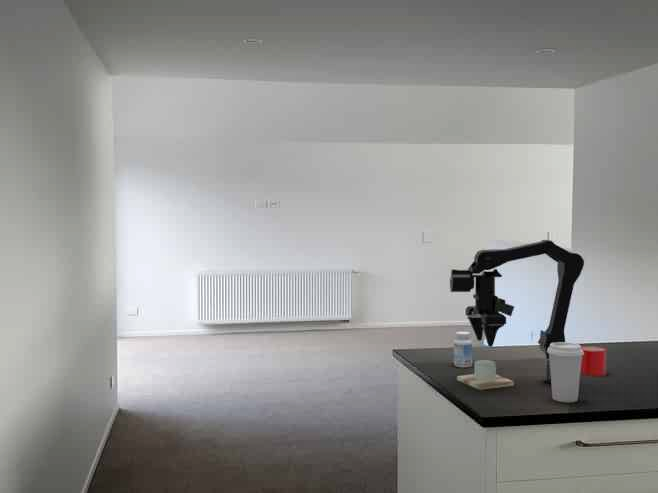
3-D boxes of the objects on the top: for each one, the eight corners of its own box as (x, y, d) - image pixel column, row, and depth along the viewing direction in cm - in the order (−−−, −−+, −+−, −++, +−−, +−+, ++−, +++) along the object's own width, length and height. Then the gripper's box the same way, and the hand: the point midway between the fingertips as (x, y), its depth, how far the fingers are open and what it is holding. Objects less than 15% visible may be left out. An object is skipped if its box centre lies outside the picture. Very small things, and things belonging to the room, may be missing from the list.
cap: (475, 381, 193) (475, 364, 193) (474, 376, 199) (474, 359, 199) (496, 381, 193) (496, 364, 192) (494, 376, 199) (494, 360, 198)
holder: (513, 385, 193) (513, 374, 192) (479, 389, 188) (479, 378, 188) (489, 376, 204) (489, 365, 204) (457, 380, 199) (457, 369, 199)
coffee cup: (574, 393, 183) (575, 341, 182) (589, 403, 174) (590, 348, 173) (541, 394, 183) (541, 341, 182) (554, 404, 173) (554, 348, 173)
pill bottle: (471, 363, 220) (471, 331, 220) (473, 368, 214) (473, 334, 214) (453, 363, 221) (452, 330, 220) (454, 367, 215) (454, 334, 214)
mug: (571, 366, 215) (571, 343, 214) (609, 372, 207) (609, 348, 206) (562, 371, 209) (562, 347, 208) (600, 377, 201) (601, 352, 200)
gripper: (523, 295, 186) (523, 348, 187) (499, 287, 205) (499, 336, 206) (486, 296, 185) (486, 350, 186) (465, 288, 203) (465, 337, 204)
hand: (484, 343), depth 195 cm, fingers open, 9 cm apart
